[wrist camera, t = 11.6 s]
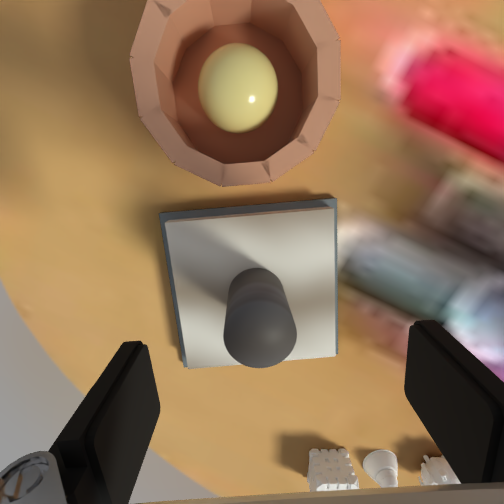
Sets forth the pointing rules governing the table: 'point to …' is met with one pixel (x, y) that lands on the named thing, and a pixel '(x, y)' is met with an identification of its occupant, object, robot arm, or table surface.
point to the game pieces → (369, 470)
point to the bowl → (236, 84)
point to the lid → (255, 286)
